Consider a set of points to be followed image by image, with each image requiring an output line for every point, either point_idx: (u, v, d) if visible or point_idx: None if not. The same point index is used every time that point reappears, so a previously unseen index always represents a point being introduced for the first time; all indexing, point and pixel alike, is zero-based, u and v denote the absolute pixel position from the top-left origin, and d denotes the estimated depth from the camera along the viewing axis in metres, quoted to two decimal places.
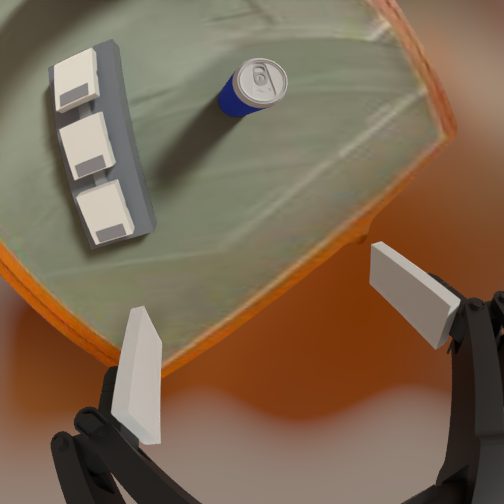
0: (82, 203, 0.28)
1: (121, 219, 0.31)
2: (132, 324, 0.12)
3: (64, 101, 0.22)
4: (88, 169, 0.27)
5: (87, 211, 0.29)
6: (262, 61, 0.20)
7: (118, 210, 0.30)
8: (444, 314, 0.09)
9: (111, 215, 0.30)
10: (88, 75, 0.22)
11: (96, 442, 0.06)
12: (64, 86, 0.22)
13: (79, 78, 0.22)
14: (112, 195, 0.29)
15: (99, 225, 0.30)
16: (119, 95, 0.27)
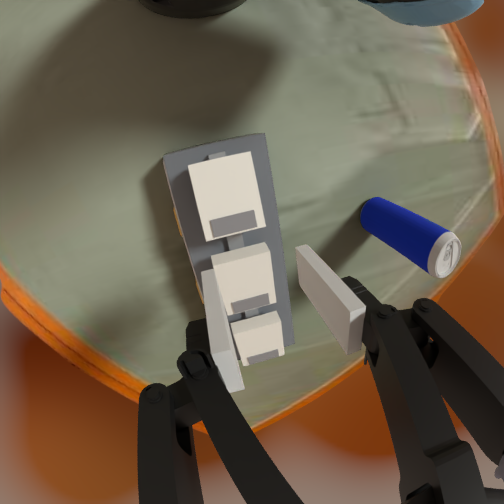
0: (239, 338, 0.30)
1: (277, 346, 0.33)
2: (208, 282, 0.14)
3: (219, 230, 0.24)
4: (248, 306, 0.29)
5: (243, 344, 0.31)
6: (452, 240, 0.22)
7: (277, 340, 0.32)
8: (347, 320, 0.11)
9: (268, 344, 0.32)
10: (253, 198, 0.24)
11: (193, 383, 0.09)
12: (215, 206, 0.24)
13: (239, 199, 0.24)
14: (275, 330, 0.31)
15: (253, 352, 0.32)
16: (277, 216, 0.29)
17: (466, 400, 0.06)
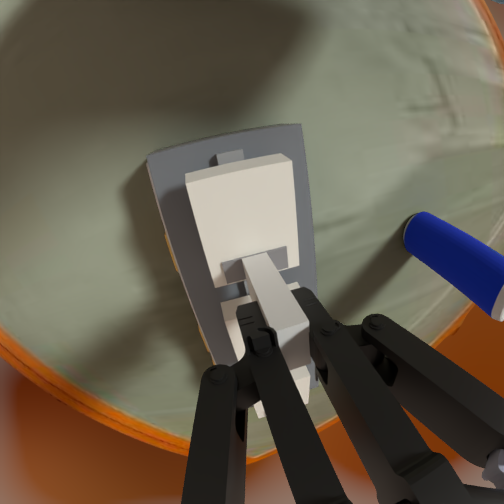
0: None
1: None
2: (252, 268, 0.15)
3: (234, 274, 0.17)
4: None
5: None
6: None
7: (302, 393, 0.24)
8: None
9: None
10: (287, 230, 0.16)
11: (255, 360, 0.09)
12: (229, 244, 0.16)
13: (266, 233, 0.16)
14: (302, 384, 0.23)
15: None
16: (313, 243, 0.20)
17: (437, 415, 0.06)
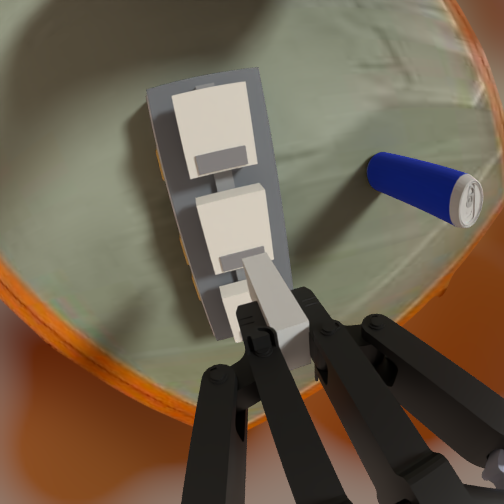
0: (229, 304, 0.26)
1: None
2: (252, 268, 0.15)
3: (205, 167, 0.21)
4: (240, 263, 0.25)
5: (234, 312, 0.26)
6: (474, 182, 0.17)
7: None
8: None
9: None
10: (245, 132, 0.20)
11: (255, 360, 0.09)
12: (201, 141, 0.20)
13: (229, 133, 0.20)
14: None
15: None
16: (273, 157, 0.24)
17: (436, 415, 0.06)
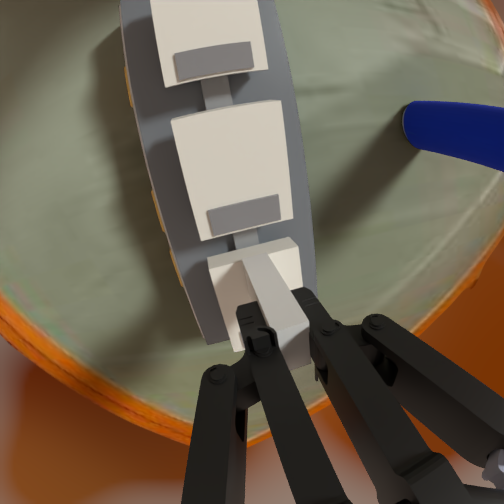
0: (221, 282, 0.17)
1: None
2: (252, 268, 0.15)
3: (188, 70, 0.12)
4: (240, 221, 0.15)
5: (230, 297, 0.17)
6: None
7: None
8: None
9: None
10: (250, 25, 0.11)
11: (255, 360, 0.09)
12: (185, 34, 0.10)
13: (226, 25, 0.10)
14: (289, 268, 0.17)
15: None
16: (289, 76, 0.15)
17: (437, 415, 0.06)
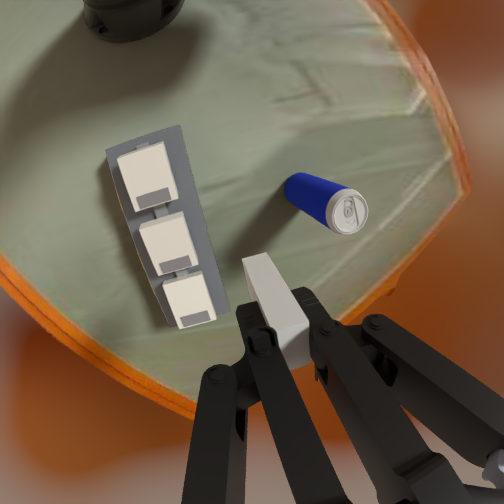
0: (168, 291, 0.35)
1: (206, 306, 0.37)
2: (252, 268, 0.15)
3: (143, 203, 0.31)
4: (173, 267, 0.34)
5: (173, 298, 0.36)
6: (351, 195, 0.27)
7: (204, 298, 0.37)
8: None
9: (197, 302, 0.37)
10: (166, 178, 0.30)
11: (256, 360, 0.09)
12: (139, 187, 0.29)
13: (156, 180, 0.29)
14: (199, 285, 0.36)
15: (185, 311, 0.37)
16: (195, 191, 0.34)
17: (436, 415, 0.06)
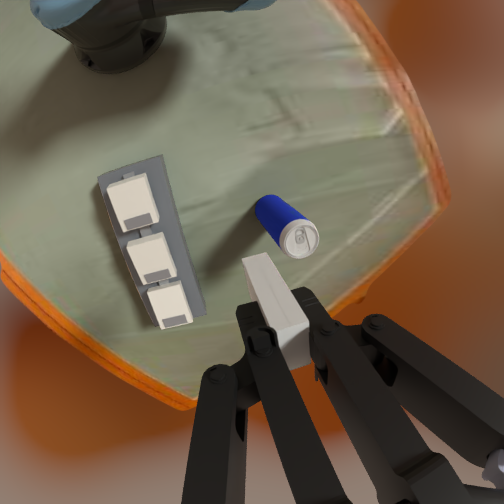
0: (152, 297, 0.41)
1: (184, 311, 0.43)
2: (252, 268, 0.15)
3: (130, 225, 0.36)
4: (156, 278, 0.40)
5: (156, 303, 0.41)
6: (302, 225, 0.32)
7: (182, 304, 0.42)
8: None
9: (175, 307, 0.42)
10: (148, 205, 0.35)
11: (255, 360, 0.09)
12: (125, 212, 0.35)
13: (139, 207, 0.35)
14: (177, 293, 0.42)
15: (166, 314, 0.42)
16: (174, 213, 0.39)
17: (437, 415, 0.06)
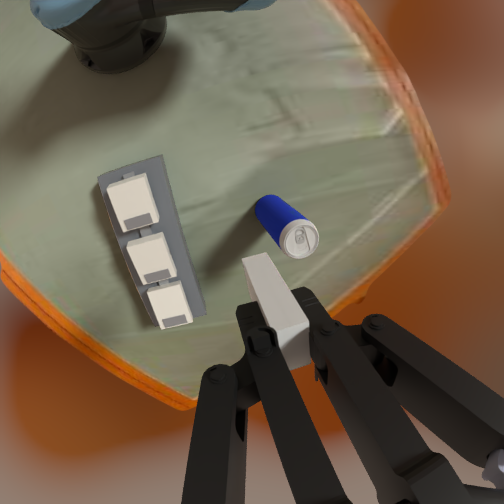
0: (152, 297, 0.41)
1: (184, 311, 0.43)
2: (252, 268, 0.15)
3: (130, 225, 0.36)
4: (156, 278, 0.40)
5: (156, 303, 0.41)
6: (302, 226, 0.32)
7: (181, 304, 0.42)
8: None
9: (175, 307, 0.42)
10: (148, 205, 0.35)
11: (256, 360, 0.09)
12: (125, 212, 0.35)
13: (139, 207, 0.35)
14: (177, 293, 0.42)
15: (166, 314, 0.42)
16: (174, 213, 0.39)
17: (437, 415, 0.06)
